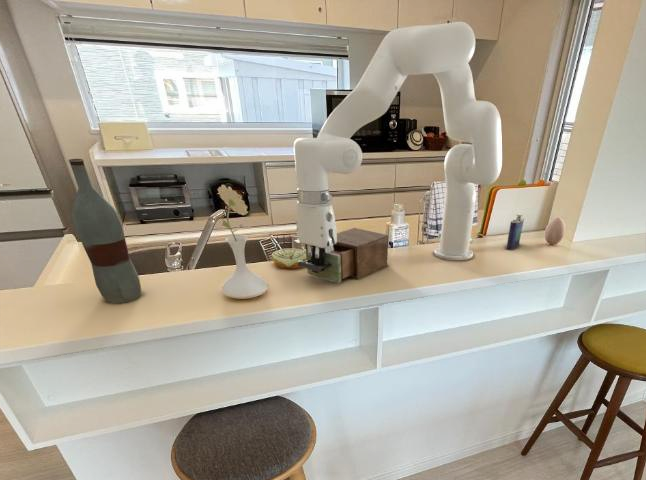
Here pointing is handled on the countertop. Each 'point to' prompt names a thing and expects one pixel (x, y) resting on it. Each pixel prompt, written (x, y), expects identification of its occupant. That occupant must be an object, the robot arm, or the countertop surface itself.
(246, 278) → the flower in vase
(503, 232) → the countertop surface
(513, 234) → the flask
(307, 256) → the drawer
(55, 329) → the countertop surface
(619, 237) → the countertop surface
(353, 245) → the cabinet
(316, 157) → the robot arm
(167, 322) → the countertop surface
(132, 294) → the bottle
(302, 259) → the decorated donut
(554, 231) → the egg
